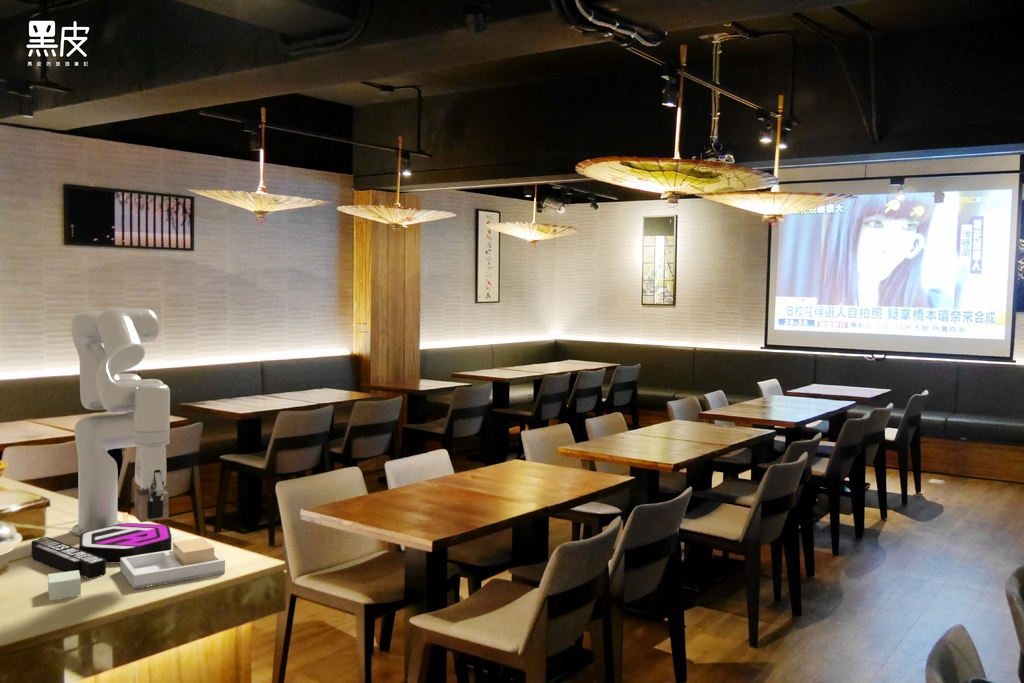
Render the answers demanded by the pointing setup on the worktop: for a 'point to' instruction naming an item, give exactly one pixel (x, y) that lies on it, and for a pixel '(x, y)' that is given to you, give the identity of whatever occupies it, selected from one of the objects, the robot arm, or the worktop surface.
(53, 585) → the sage box
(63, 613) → the worktop surface
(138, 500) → the walnut block
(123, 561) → the box
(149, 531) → the sign
